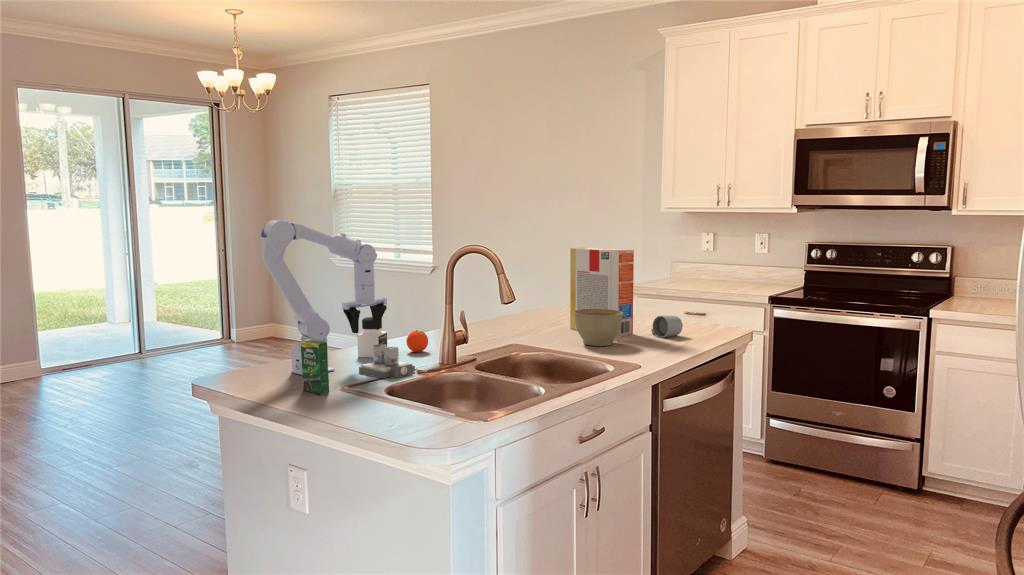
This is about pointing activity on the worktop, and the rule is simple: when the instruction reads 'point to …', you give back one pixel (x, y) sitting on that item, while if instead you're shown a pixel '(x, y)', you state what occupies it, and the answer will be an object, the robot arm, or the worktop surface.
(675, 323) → the ceramic mug
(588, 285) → the cereal box
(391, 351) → the spacer
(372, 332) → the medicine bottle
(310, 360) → the green cardboard box
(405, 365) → the scale
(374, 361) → the spacer
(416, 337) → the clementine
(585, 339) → the planter bowl
